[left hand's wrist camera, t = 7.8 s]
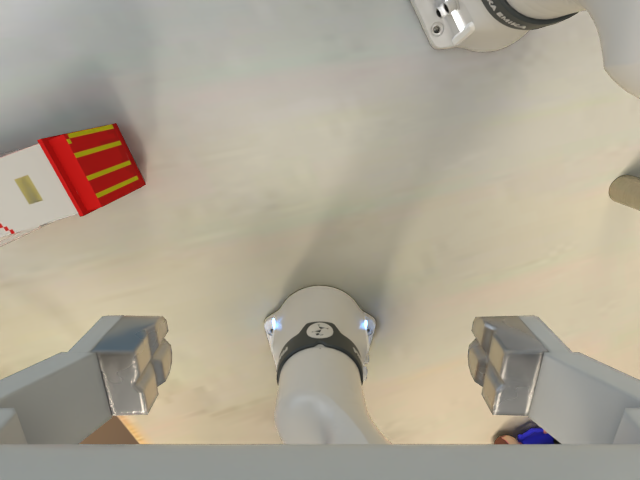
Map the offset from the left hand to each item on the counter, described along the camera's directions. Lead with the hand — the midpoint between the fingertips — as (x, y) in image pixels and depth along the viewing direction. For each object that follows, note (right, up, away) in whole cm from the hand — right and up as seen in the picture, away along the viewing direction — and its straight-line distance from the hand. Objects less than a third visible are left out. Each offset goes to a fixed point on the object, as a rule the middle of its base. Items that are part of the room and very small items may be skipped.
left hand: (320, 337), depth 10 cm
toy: (-40, +11, +47) cm, 63 cm away
